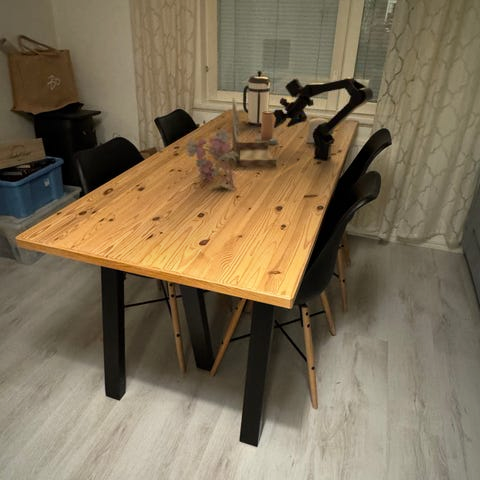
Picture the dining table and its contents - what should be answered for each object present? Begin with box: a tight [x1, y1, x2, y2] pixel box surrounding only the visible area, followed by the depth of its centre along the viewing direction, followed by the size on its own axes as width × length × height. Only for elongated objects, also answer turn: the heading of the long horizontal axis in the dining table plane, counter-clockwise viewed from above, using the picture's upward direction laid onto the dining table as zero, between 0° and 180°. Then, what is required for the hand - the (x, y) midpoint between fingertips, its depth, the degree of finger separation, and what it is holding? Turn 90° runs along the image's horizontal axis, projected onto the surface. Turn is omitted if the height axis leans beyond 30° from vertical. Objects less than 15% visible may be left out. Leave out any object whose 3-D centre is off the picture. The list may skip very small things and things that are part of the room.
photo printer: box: [306, 117, 329, 144], centre depth 208 cm, size 10×4×12 cm, turn 98°
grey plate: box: [254, 135, 279, 146], centre depth 209 cm, size 12×12×2 cm
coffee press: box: [242, 70, 271, 128], centre depth 236 cm, size 17×16×30 cm
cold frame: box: [232, 96, 278, 168], centre depth 181 cm, size 18×28×25 cm, turn 4°
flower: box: [181, 128, 240, 192], centre depth 154 cm, size 20×22×25 cm
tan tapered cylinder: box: [260, 111, 275, 140], centre depth 205 cm, size 6×6×13 cm
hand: (280, 126), depth 199 cm, fingers open, 9 cm apart
